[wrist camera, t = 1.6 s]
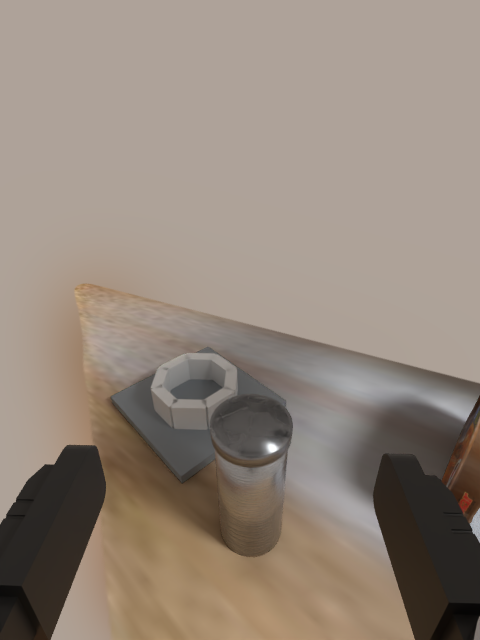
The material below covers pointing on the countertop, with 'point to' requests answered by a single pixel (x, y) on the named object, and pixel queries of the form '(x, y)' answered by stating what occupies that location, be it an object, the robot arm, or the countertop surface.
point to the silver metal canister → (251, 470)
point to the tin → (466, 466)
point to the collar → (185, 407)
